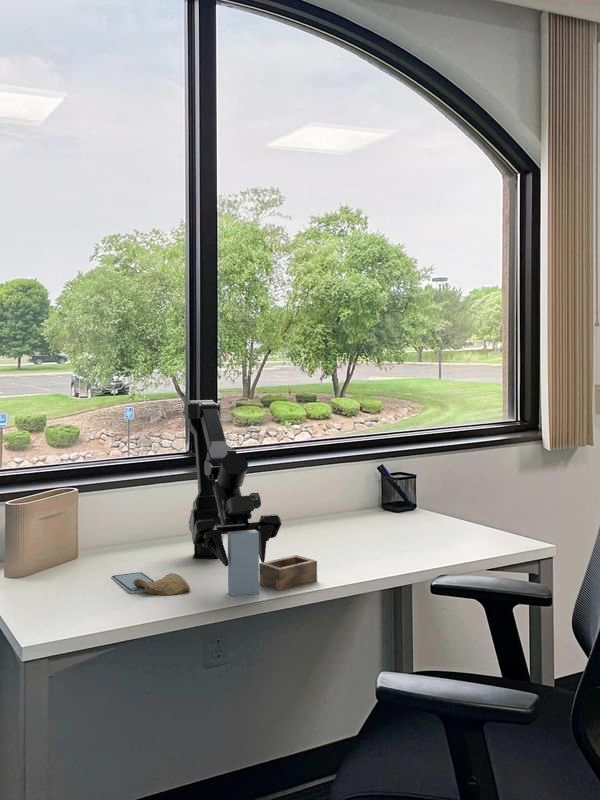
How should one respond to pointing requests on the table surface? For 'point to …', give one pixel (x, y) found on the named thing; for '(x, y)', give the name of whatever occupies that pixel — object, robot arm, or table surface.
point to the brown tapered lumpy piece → (164, 585)
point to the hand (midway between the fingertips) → (245, 563)
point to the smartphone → (131, 581)
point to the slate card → (243, 562)
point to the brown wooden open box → (287, 572)
